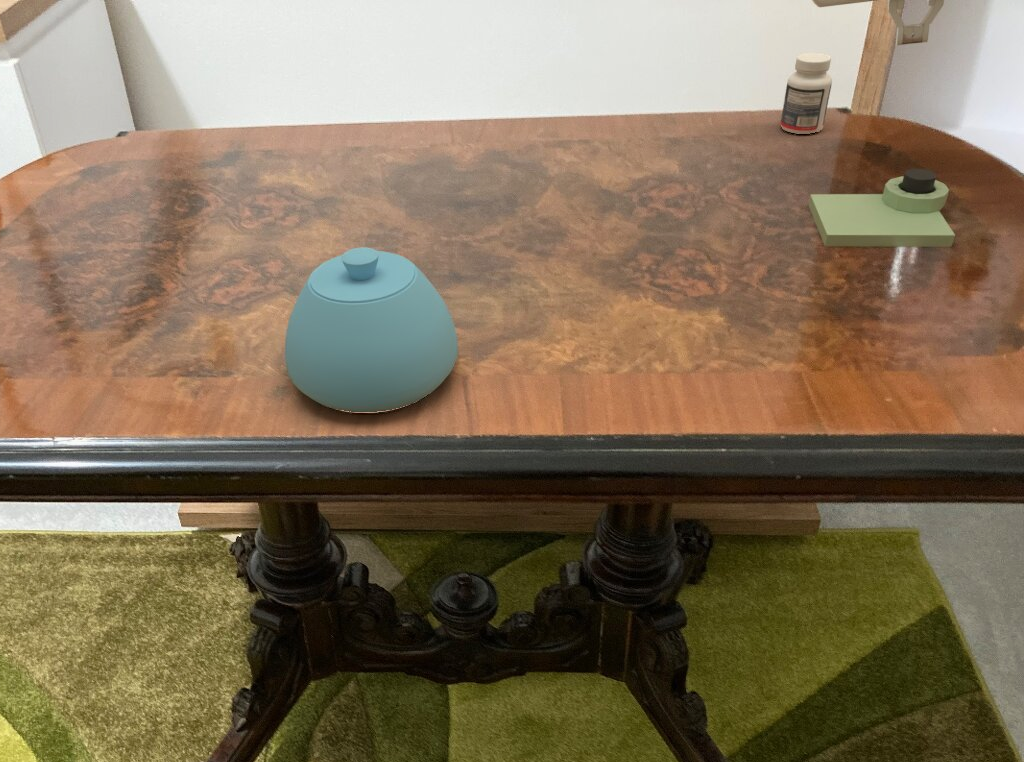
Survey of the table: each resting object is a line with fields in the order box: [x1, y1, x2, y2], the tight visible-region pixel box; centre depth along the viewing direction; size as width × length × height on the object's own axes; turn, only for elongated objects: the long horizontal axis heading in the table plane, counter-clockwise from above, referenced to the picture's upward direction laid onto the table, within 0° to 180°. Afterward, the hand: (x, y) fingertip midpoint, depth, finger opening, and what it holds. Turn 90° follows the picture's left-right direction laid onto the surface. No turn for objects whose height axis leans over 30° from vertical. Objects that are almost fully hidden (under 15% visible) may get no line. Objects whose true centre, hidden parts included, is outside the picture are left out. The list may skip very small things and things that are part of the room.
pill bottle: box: [779, 52, 833, 135], centre depth 116 cm, size 5×5×9 cm
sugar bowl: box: [284, 246, 459, 412], centre depth 78 cm, size 15×15×12 cm
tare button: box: [901, 168, 937, 194], centre depth 96 cm, size 3×3×2 cm
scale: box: [807, 175, 956, 248], centre depth 96 cm, size 13×11×3 cm
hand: (911, 43), depth 97 cm, fingers closed
